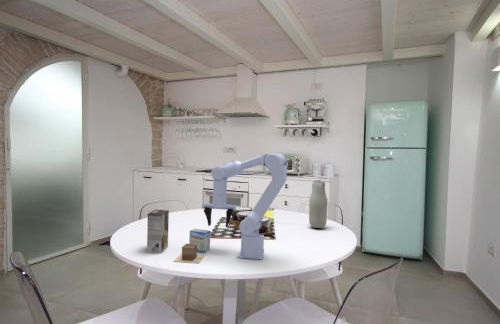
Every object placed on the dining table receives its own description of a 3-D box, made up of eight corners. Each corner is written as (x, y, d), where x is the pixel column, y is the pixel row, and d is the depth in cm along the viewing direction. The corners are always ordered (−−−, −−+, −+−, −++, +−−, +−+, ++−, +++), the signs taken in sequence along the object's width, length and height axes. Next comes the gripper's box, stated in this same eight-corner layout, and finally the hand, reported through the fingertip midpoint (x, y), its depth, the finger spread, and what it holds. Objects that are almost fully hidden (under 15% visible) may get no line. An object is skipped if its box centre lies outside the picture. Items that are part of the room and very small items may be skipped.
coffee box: (153, 246, 132) (154, 209, 132) (168, 246, 132) (169, 210, 132) (146, 252, 123) (147, 213, 123) (161, 253, 123) (162, 214, 123)
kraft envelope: (206, 254, 123) (206, 254, 123) (199, 263, 113) (199, 262, 113) (182, 253, 124) (182, 252, 124) (173, 261, 114) (173, 260, 114)
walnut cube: (193, 260, 115) (193, 247, 115) (181, 260, 116) (182, 247, 116) (196, 256, 120) (197, 244, 120) (185, 256, 120) (186, 243, 120)
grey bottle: (327, 227, 177) (329, 180, 177) (323, 231, 168) (325, 181, 167) (311, 225, 182) (313, 179, 181) (306, 228, 173) (308, 180, 172)
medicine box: (188, 250, 128) (189, 230, 127) (194, 247, 132) (194, 228, 132) (205, 253, 125) (205, 232, 125) (210, 250, 129) (210, 230, 129)
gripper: (237, 194, 132) (236, 225, 133) (205, 192, 134) (204, 222, 134) (235, 196, 125) (233, 228, 126) (201, 194, 127) (199, 226, 127)
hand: (218, 225), depth 130 cm, fingers open, 7 cm apart
